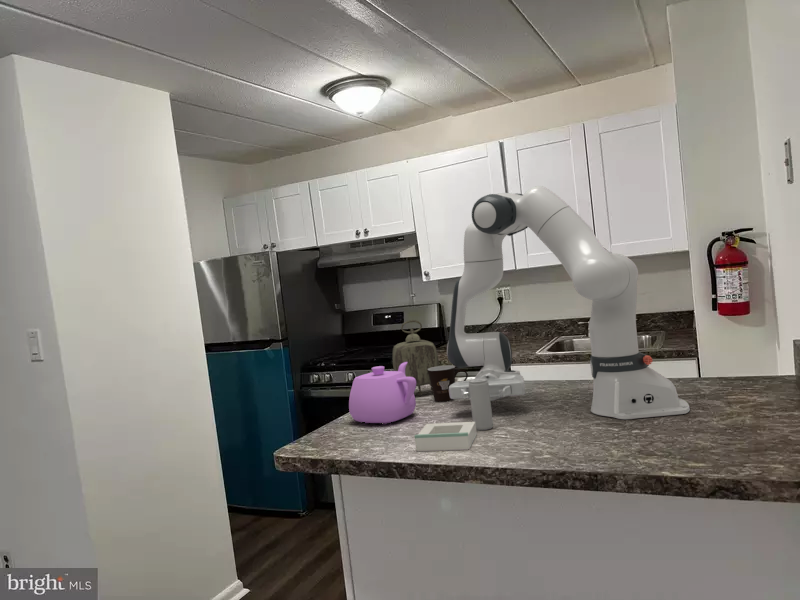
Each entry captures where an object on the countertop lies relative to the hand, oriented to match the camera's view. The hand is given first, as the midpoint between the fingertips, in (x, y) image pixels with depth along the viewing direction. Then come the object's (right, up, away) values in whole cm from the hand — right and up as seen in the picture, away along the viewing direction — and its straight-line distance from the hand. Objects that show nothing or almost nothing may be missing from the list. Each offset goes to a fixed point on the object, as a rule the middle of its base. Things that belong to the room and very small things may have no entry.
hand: (483, 394), depth 149 cm
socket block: (-10, -9, -14) cm, 20 cm away
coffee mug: (-6, -7, +32) cm, 33 cm away
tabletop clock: (-15, -8, +45) cm, 48 cm away
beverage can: (-1, -8, -6) cm, 9 cm away
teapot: (-26, -10, +17) cm, 32 cm away
